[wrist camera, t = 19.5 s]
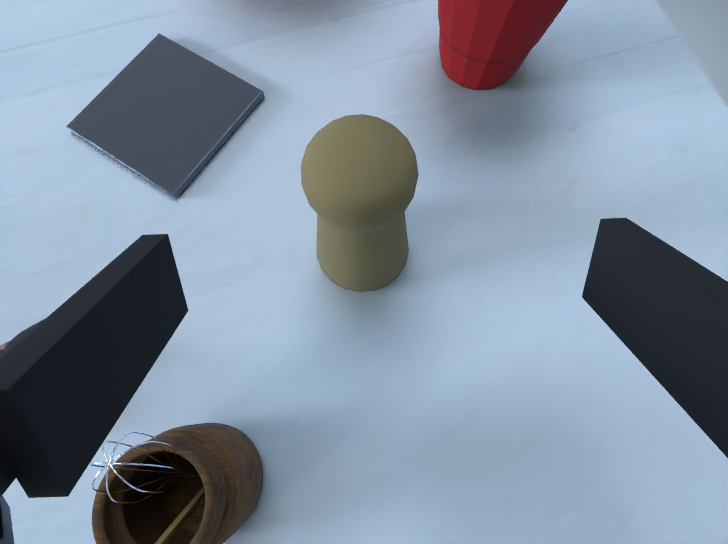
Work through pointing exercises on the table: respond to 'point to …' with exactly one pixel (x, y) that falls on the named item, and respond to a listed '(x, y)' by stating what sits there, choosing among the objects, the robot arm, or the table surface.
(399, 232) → the cork
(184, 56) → the slate coaster
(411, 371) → the table surface
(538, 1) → the plastic cup
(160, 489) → the utensil holder
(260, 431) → the table surface
